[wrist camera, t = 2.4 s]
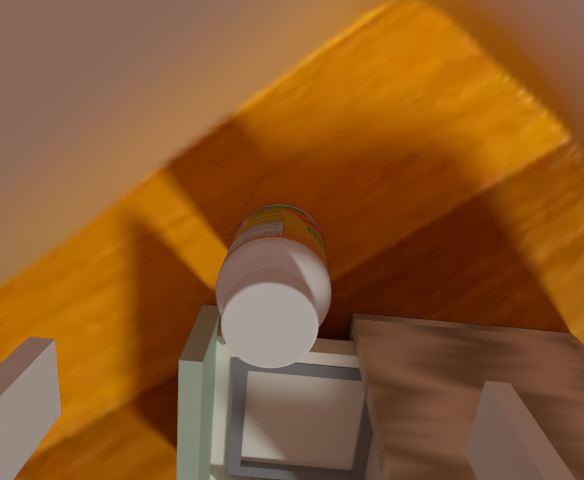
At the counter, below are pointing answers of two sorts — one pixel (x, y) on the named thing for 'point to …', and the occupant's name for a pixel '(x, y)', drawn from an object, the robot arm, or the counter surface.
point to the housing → (462, 389)
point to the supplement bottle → (274, 287)
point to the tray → (271, 413)
